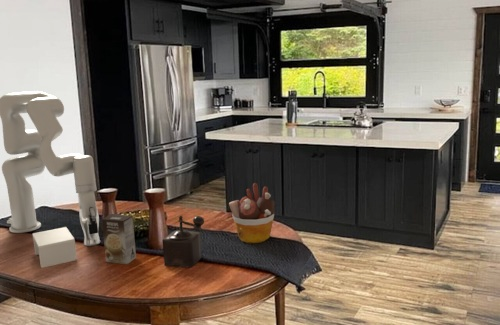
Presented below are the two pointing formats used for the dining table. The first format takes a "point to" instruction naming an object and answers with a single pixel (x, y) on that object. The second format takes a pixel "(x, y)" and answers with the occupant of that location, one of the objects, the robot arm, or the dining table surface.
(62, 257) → the white block
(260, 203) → the bucket of meat
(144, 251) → the dining table surface
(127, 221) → the coffee box
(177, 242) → the manual coffee grinder
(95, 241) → the beer glass
